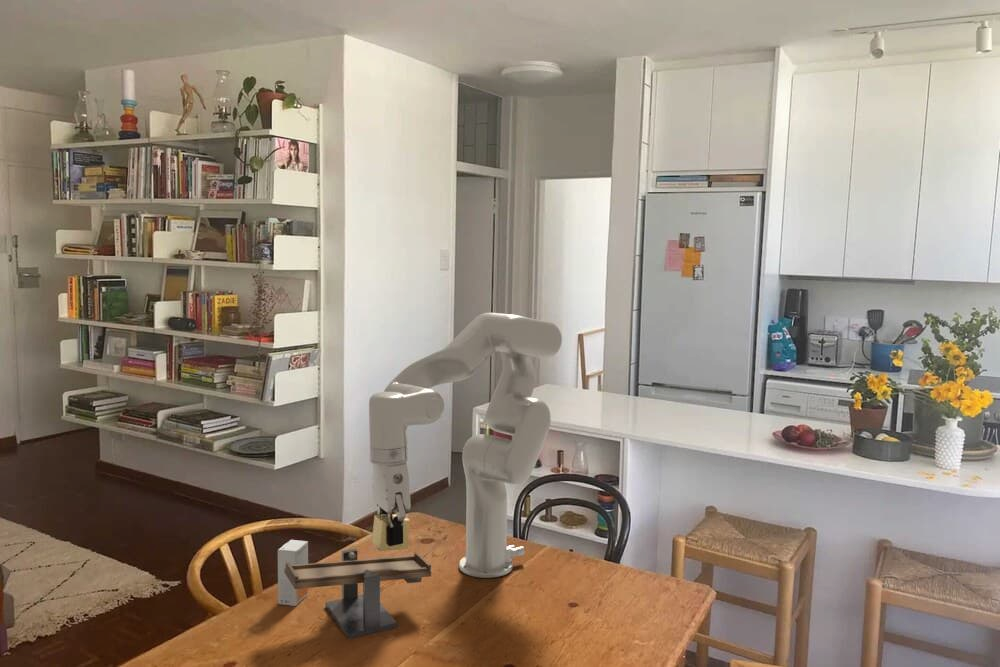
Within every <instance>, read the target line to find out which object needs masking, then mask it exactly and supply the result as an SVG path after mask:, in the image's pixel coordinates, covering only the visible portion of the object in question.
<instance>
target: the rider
mask: <svg viewBox="0 0 1000 667" xmlns="http://www.w3.org/2000/svg"><path fill="white" fill-rule="evenodd" d="M396 515H397V514H393V515H392V518H394V517H396ZM403 522H404V525H403V543H402V544H399V545H394V546H388V544H387V527H388V526H389V522H388V514H381V515H377V514H374V518H373V525H372V526H373V528H372V539H371V544H372V545H373V546H374V547H375V548H376V549H377V550H378V552H388V551H399V550H408V547H409V537H410V526H411V520H410V518H408V517H407V516H406V518H405V519H404V521H403Z"/></svg>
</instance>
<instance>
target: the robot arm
mask: <svg viewBox="0 0 1000 667" xmlns="http://www.w3.org/2000/svg"><path fill="white" fill-rule="evenodd" d="M562 338H563V337H562V332H561V330H560V328H559V327H558V326H557V325H556V324H555V323H553V322H552V321H546V320H541V319H535V318H530V317H526V316H521V315H519V314H518V315H517V314H508V313H501V312H500V313H498V312H484V313H481V314H478V316H476V317H475V318H474V319H472V321H470V322H469V324H468V325H467V326H466V327H465V328H464V329H463V330H461V331H460V333H458V335H456V337H454V339H452V341H450V343H449V344H447V346H446V345H445V347H444V348H442V349H441V350H438V351H435V352H433V353H431V354H429V355H426V356H425V357H423V358H421V359H419V360H416V361H414V362H413V363H411V364H409V365H408V366H406V367H405V368H404V369H403V370H402V371H400V373H398V374H397V375H396V376H395V377H394V378H393V379H392V380H391V381H390V382H389V383H388V385H386V387H385V388H384V391H380V392H376V393H374V394H372V395H371V396H370V397H369V401H368V414H369V416H368V417H369V423H368V424H369V427H368V428H369V459H370V461H369V462H370V464H372V476H371V477H372V478H371V479H372V481H371V482H372V484H371V485H372V487H371V488H372V498H373V502H374V503H376V507H377V512H376V513H377V514H376V515H381V514H388V522H389V526H388V527H387V544H388V546H394V545H399V544H402V543H403V525H404V522H403V521H404V519H405V518H406V517H407V516H406V515H407V513H406V511H410V510H411V490H410V488H411V487H410V478H409V471H408V470H409V469H408V465H407V461H408V460H409V458H408V456H409V454H408V446H409V445H408V428H409V427H413V426H427V425H431V424H433V423H435V422H437V421H438V420H439V419H440V418H441V417H442V415H443V414H444V410H445V402H444V399H443V397H442V395H441V394H440V393H439V392H437V391H436V390H433V389H432V388H434V387H436V386H439V385H440V386H441V385H444V384H450V383H455V382H459V381H464V380H466V379H469V378H471V377H472V376H473V375H474V374H476V372H477V371H478V370H479V369H480V368H481V367H482V366H483V364H485V363H486V362H487V361H488V359H490V357H491V356H493V354H494V353H496V352H499V353H500V356H501V361H502V370H501V374H500V376H499V380H498V382H497V385H496V387H495V389H494V391H493V393H492V394H493V395H492V397H491V398H490V401H489V403H488V406H487V410H486V412H485V423H486V425H487V427H488V428H489V429H491V430H492V431H494V432H497V433H500V434H505V435H509V436H512V439H508V438H505V437H501V436H497V435H493V434H486V433H485V434H483V433H482V434H481V433H479V434H475V435H473V436H471V437H470V438H468V439H467V441H466V442H465V444H464V446H463V448H462V454H461V458H462V460H461V461H462V465H463V472H464V475H465V485H466V486H465V487H466V488H465V489H466V490H465V491H466V494H465V495H466V501H465V502H466V504H465V505H466V510H465V512H466V513H465V518H466V519H465V556H463V557H462V558H461V559H460V560H459V564H458V566H459V570H460V571H461V572H462V573H463V574H466V575H467V576H470V577H475V578H483V579H493V578H498V577H501V576H502V577H503V576H505V575H507V574H509V573H510V572H512V570H513V569H514V563H513V560H512V559H514V558H515V557H516V556H517V557H518V556H523V555H525V553H526V550H525V547H524V546H517V547H515V545H514V544H512V545H507V543H508V542H507V540H508V539H507V538H508V537H507V536H508V529H507V528H508V491H507V490H508V489H507V486H506V484H509V485H510V484H511V485H521V484H523V483H525V482H527V480H528V479H529V478H530V477H531V475H532V473H533V471H534V468H535V467H536V464H537V462H538V459H539V457H540V454H541V451H542V449H543V446H544V444H545V441H546V438H547V437H548V434H549V431H550V427H551V410H550V408H549V406H548V404H547V403H546V402H544V401H543V400H541V399H539V398H536V397H532V395H533V392H534V389H535V386H536V382H537V373H536V369H535V367H534V364H533V361H532V357H533V358H539V359H550V358H552V357H554V356H555V355H556V354H557V353H558V352H559V351H560V349H561V347H562V343H563V342H562V340H563V339H562ZM393 509H395V510H393ZM393 514H397V515H396V517H394V518H392V515H393Z"/></svg>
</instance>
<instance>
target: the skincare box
mask: <svg viewBox="0 0 1000 667" xmlns="http://www.w3.org/2000/svg"><path fill="white" fill-rule="evenodd" d="M287 562H289V563H290V565H299V564H309V541H308V540H306V541H305V540H297V539H296V540H295V539H290V540H289V541H287V542H286V543H284V544H283V545H282V546H281V547H280V548H278V549H277V603H278V605H283V606H284V605H285V606H291V607H296V606H298V605H299V603H301V602H302V600H304V599H305V598H306V597H307V596H308V595H309V588H302V589H295V588H294V587H293V585H292V584H291V582H290V581H289V579H288V578H287V576H286V574H285V573H284V570H285V567H286V563H287Z"/></svg>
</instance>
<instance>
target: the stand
mask: <svg viewBox="0 0 1000 667" xmlns="http://www.w3.org/2000/svg"><path fill="white" fill-rule="evenodd" d="M350 552H353V553H354V554H355V555H356V559H355V560H358V549H357V548H352V549H351V548H350V549H346V550H341V561H350V560H351V559H350V558H349V556H348V555H349V553H350ZM358 584H359V583H356V584H345V585H341V595H342V598H341V599H335V600H330V601H326V602H325V608H326V610H327V611H328V612H329V614H330V615H331V617H332V619H334V621H335V623H336V624H337V625H338V627H339V628H340V630H341V631H342V633H343V634H344V635H345V637H346V639H348V640H350V639H354V638H358V637H364V636H366V635H371V634H374V633H380V632H383V631H387V630H392V629H397V628H398V622H397V620H396V619H395V618H394V617H393V616H392V615H391V613H390V612H389V611H388V610H387V609H386V608H385V606H384V605H383V604H382V603H381V581H380V574H379V573H373V574H368V575H363V583H362V594H359V591H358V590H359V589H358V588H359V587H358Z"/></svg>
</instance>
